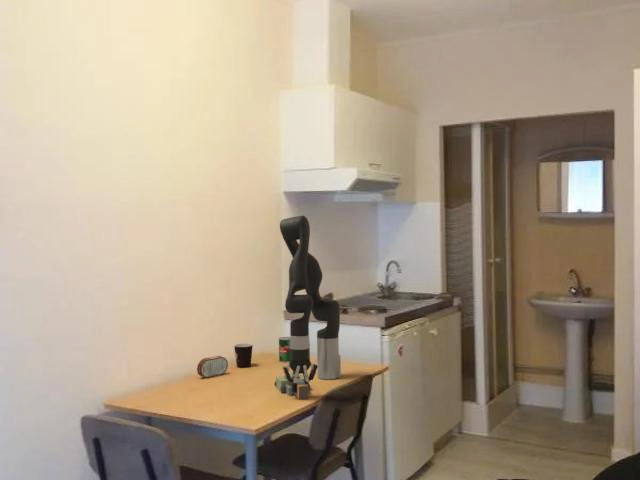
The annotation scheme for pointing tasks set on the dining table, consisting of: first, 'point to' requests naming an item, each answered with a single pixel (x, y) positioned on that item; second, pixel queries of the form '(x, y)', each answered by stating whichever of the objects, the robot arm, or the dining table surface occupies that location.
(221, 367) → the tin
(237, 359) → the coffee mug
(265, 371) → the dining table surface
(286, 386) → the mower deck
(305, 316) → the robot arm
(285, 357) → the canned tomato
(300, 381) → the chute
